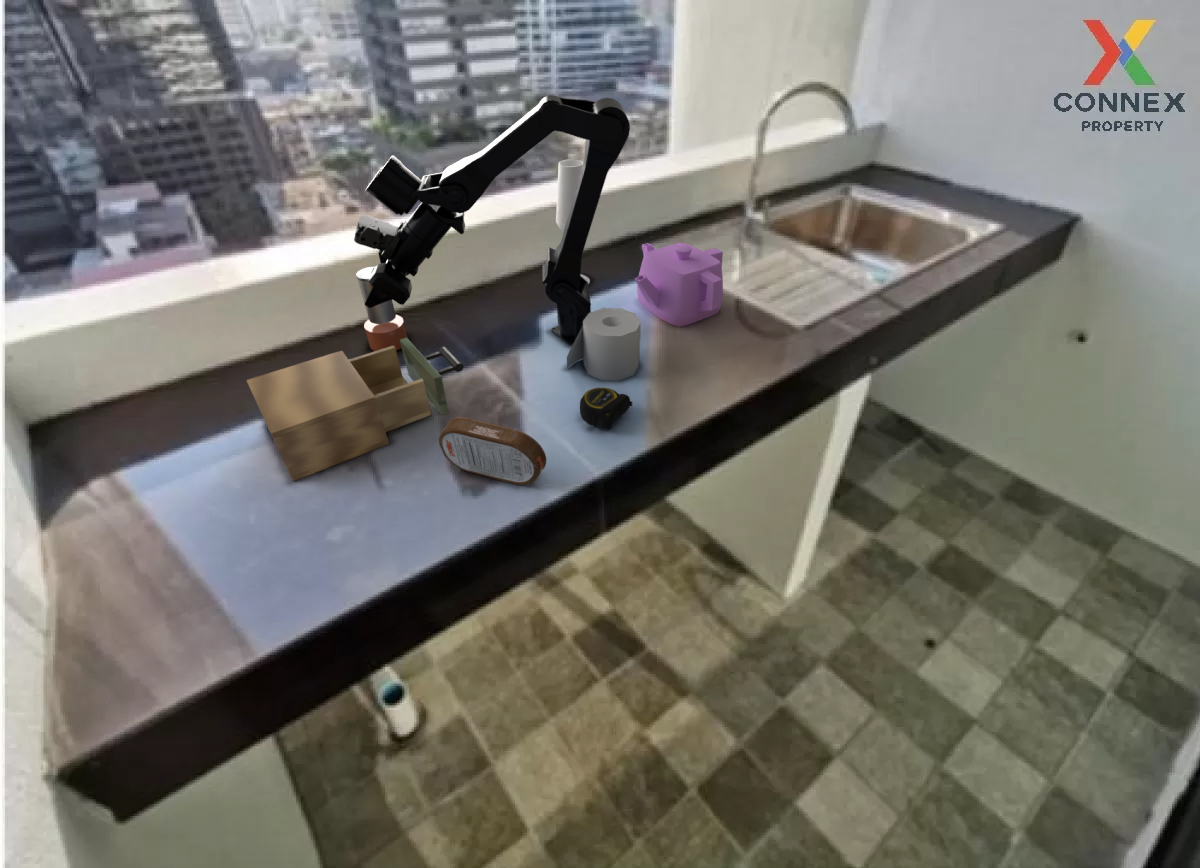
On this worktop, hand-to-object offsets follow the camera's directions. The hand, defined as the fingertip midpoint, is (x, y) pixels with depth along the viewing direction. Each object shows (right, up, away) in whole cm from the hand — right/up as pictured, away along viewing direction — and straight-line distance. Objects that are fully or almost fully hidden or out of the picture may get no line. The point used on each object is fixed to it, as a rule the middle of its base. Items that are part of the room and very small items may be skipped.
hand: (369, 299), depth 104 cm
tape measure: (+41, -21, -11) cm, 47 cm away
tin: (+25, -29, -20) cm, 44 cm away
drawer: (+10, -18, -9) cm, 22 cm away
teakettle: (+55, +2, +16) cm, 57 cm away
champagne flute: (+34, +9, +25) cm, 44 cm away
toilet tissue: (+40, -12, 0) cm, 42 cm away
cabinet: (-1, -23, -14) cm, 27 cm away
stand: (+1, -7, +6) cm, 9 cm away
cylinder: (+1, -3, +3) cm, 4 cm away
